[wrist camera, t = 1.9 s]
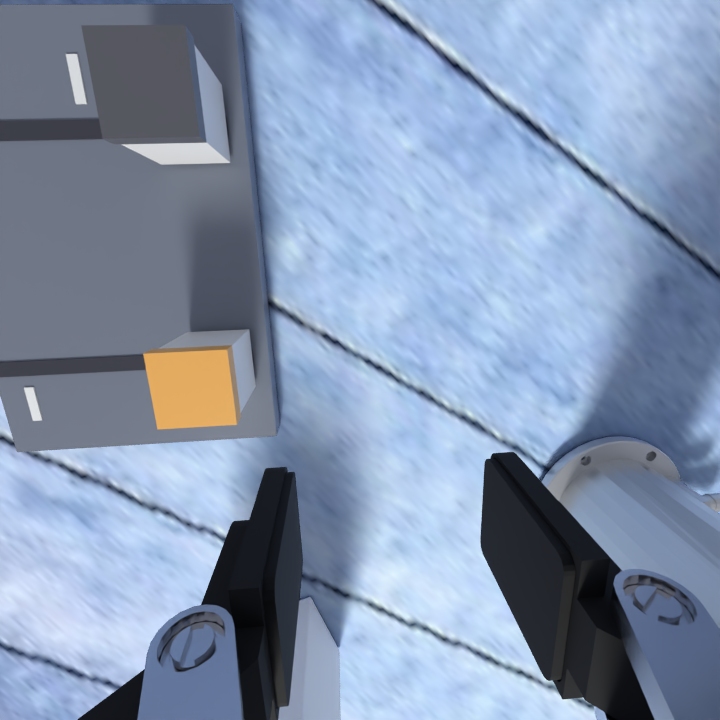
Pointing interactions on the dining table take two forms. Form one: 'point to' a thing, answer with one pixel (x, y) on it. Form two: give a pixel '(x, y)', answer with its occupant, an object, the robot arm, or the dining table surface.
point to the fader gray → (156, 93)
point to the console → (117, 239)
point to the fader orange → (201, 379)
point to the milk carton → (313, 670)
